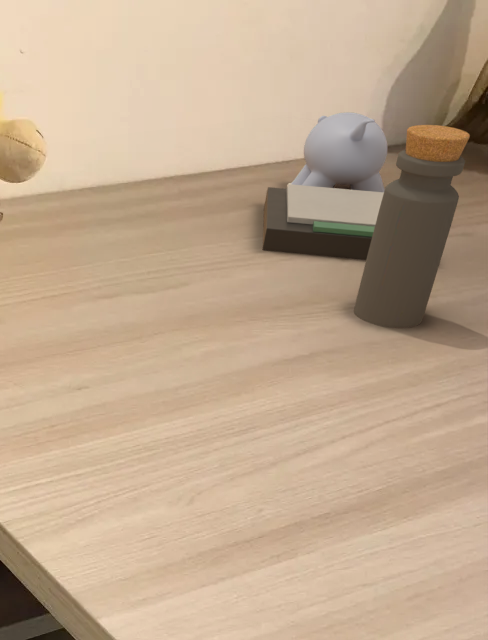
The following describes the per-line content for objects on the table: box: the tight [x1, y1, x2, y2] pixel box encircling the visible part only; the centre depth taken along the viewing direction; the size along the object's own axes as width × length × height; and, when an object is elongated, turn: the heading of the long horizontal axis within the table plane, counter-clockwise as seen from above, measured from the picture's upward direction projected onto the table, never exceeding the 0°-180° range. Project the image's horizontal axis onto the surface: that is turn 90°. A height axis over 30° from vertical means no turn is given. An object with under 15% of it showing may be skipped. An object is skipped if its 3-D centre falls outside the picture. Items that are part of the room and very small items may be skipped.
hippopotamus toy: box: [288, 111, 388, 192], centre depth 117 cm, size 11×15×10 cm
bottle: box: [353, 124, 471, 329], centre depth 86 cm, size 6×6×15 cm
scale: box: [261, 183, 384, 261], centre depth 107 cm, size 16×15×3 cm
